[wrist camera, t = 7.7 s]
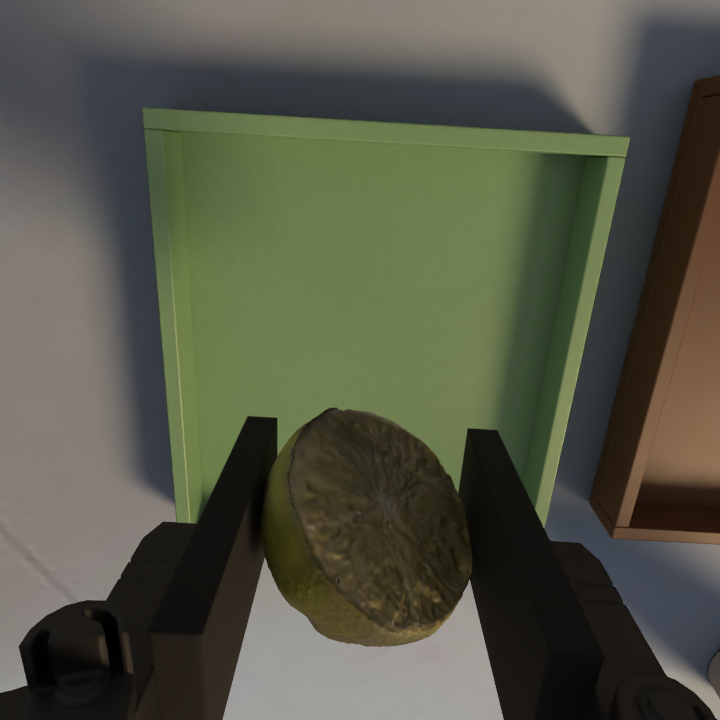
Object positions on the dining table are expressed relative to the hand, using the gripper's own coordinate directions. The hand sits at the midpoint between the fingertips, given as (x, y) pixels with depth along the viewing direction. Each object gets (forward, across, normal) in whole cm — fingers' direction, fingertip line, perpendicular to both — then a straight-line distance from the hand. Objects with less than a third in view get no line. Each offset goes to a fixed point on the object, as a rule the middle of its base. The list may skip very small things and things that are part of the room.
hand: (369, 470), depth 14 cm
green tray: (+9, 0, 0) cm, 9 cm away
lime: (+1, 0, 0) cm, 1 cm away
